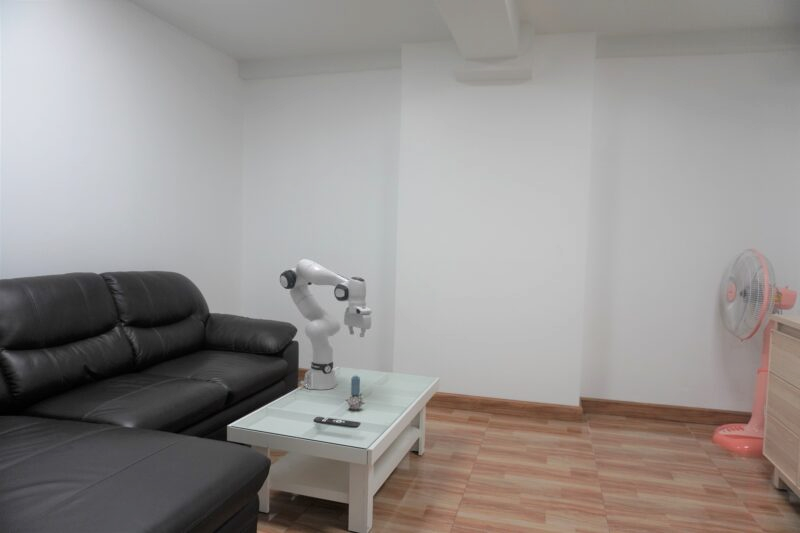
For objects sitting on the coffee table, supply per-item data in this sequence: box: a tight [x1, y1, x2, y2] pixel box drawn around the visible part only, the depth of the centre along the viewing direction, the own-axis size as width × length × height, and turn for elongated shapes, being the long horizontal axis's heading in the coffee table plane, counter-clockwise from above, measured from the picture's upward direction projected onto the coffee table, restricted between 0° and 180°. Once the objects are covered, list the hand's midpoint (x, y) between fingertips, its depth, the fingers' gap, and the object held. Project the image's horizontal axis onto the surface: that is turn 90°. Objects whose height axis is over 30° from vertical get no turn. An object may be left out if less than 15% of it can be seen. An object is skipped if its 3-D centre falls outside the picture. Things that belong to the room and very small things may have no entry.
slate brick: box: [350, 375, 361, 396], centre depth 268 cm, size 4×4×9 cm
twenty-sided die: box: [345, 393, 366, 412], centre depth 269 cm, size 9×8×10 cm
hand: (356, 335), depth 282 cm, fingers open, 8 cm apart
